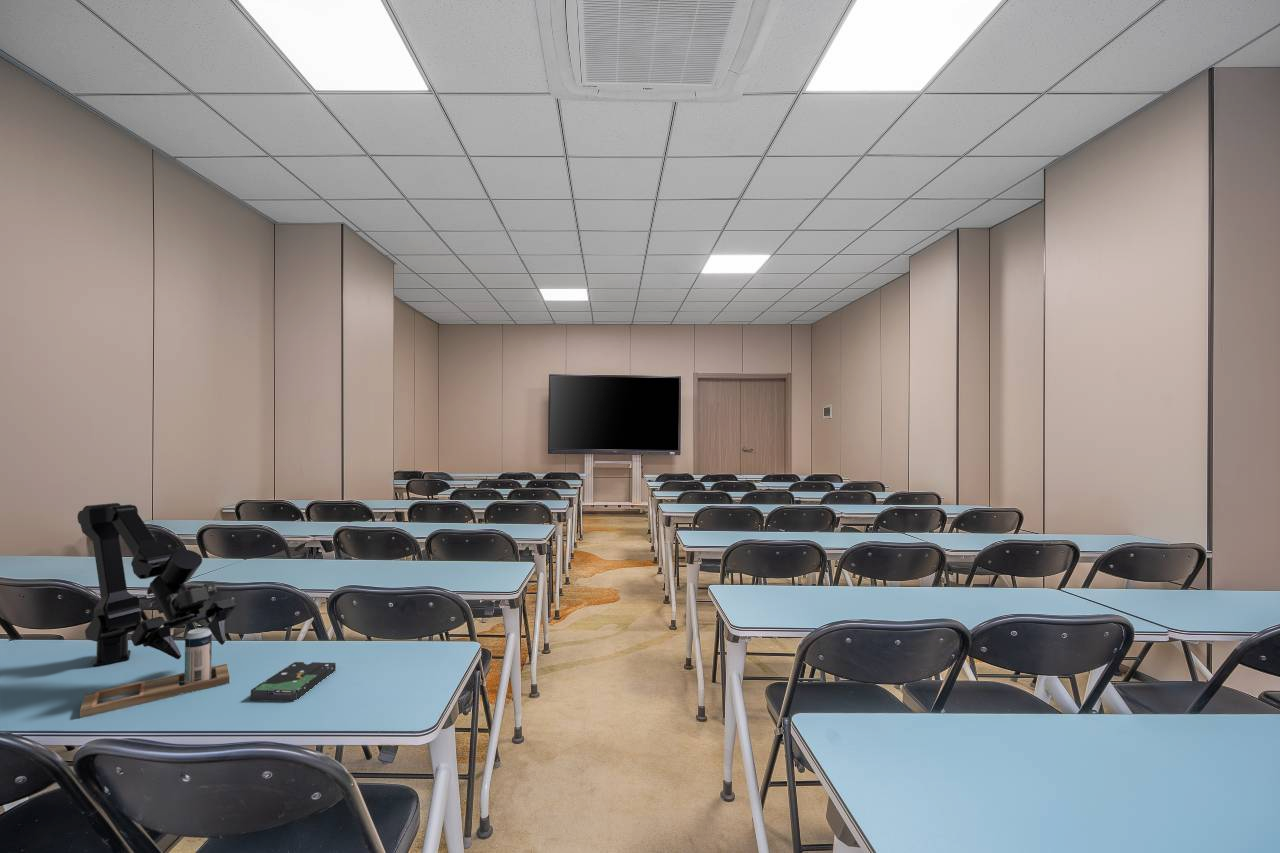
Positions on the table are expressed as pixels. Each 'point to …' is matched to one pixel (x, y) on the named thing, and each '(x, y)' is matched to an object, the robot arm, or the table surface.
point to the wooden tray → (148, 691)
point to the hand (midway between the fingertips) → (202, 650)
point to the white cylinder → (198, 655)
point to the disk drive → (292, 681)
